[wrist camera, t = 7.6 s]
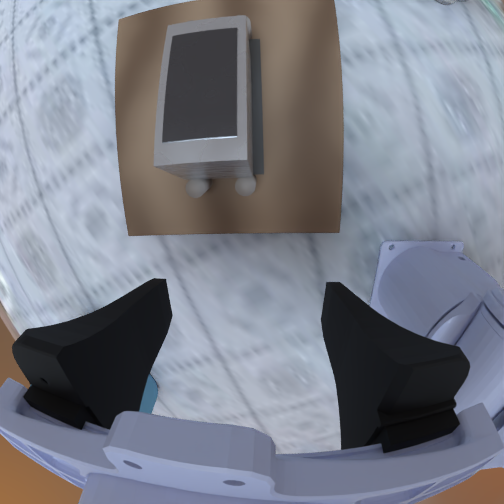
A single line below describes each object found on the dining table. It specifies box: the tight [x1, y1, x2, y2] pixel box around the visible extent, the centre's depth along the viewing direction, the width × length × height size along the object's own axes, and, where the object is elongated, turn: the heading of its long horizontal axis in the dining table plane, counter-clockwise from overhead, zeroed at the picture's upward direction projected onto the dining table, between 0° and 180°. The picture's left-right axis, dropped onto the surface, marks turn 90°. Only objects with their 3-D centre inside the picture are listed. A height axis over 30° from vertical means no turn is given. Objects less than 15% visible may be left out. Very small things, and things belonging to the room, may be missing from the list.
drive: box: [154, 15, 253, 180], centre depth 13 cm, size 4×8×5 cm, turn 2°
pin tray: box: [115, 0, 344, 236], centre depth 15 cm, size 16×18×4 cm
